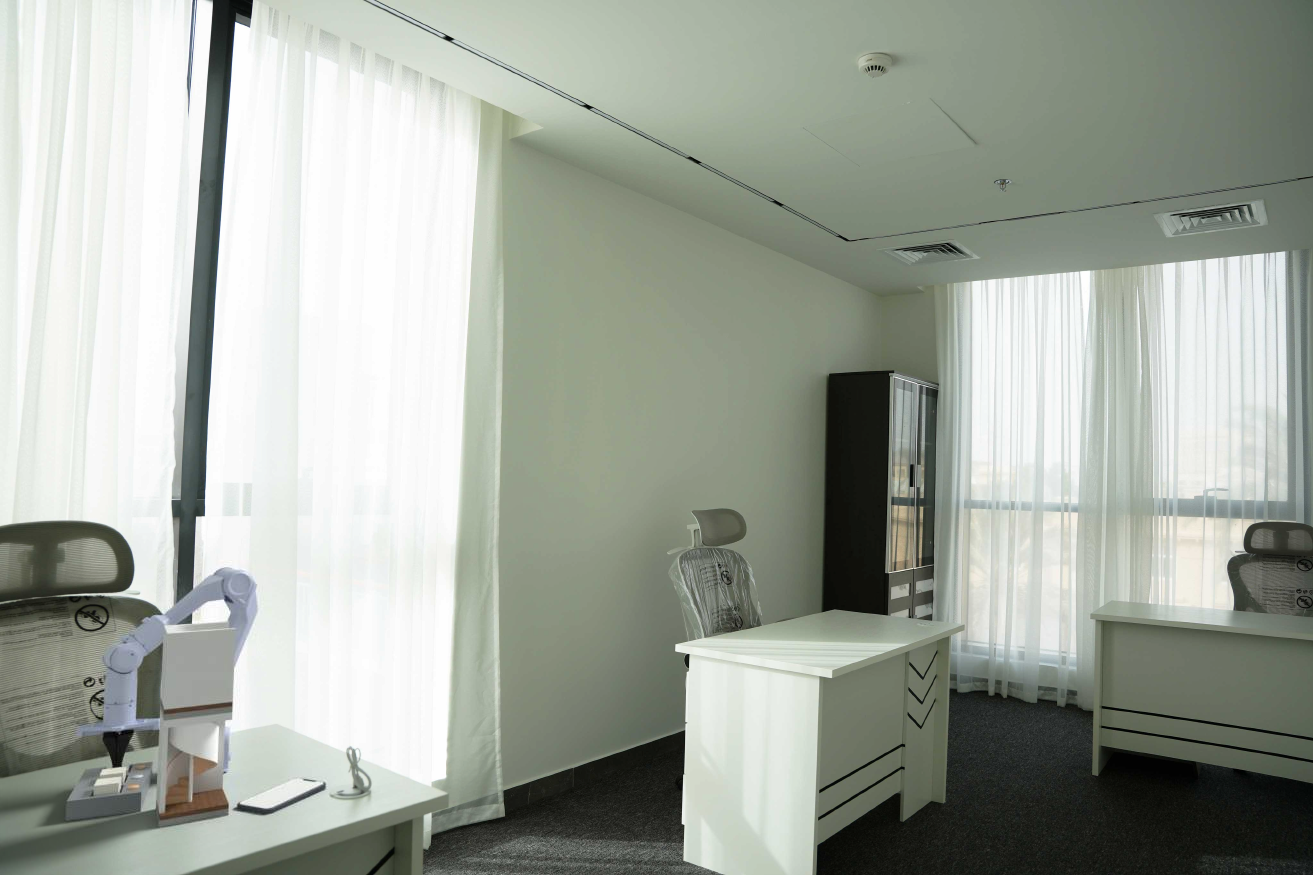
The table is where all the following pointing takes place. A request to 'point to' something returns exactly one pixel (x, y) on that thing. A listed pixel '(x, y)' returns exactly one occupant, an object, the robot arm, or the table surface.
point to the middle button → (114, 773)
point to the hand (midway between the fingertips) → (117, 768)
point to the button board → (127, 801)
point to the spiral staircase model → (194, 721)
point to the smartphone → (281, 796)
